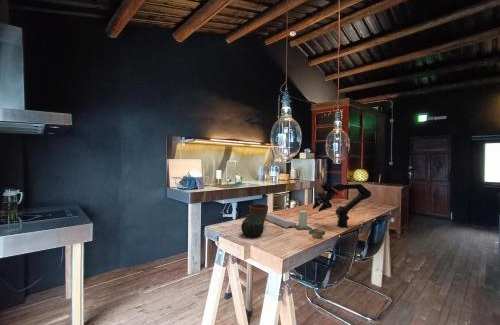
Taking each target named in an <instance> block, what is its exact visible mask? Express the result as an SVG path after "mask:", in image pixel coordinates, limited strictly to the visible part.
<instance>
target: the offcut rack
mask: <svg viewBox="0 0 500 325" xmlns="http://www.w3.org/2000/svg"><path fill="white" fill-rule="evenodd" d="M315 230H319V231H323V234H322V236H323V235H325V234H326V231H325V230H323V229H319V228H314V229H313V228H312V230H308V234H310V235H313V231H315Z"/></svg>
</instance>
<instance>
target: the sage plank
mask: <svg viewBox="0 0 500 325" xmlns="http://www.w3.org/2000/svg"><path fill="white" fill-rule="evenodd" d="M298 225H299V227H300V228H307V226H308V211H307V210H298Z"/></svg>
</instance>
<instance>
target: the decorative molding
mask: <svg viewBox="0 0 500 325" xmlns="http://www.w3.org/2000/svg"><path fill="white" fill-rule="evenodd" d="M265 221H268V222H271V223H273V224H275V225H278V226H280V227H283V228H285V229H287V228H289V227H293V226H294V225H297V222H294V221H292V220H289V219H286V218H283V217H280V216H278V215H274V214H272V213H267V215H266V219H265ZM293 228H294V227H293Z"/></svg>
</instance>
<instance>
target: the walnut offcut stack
mask: <svg viewBox="0 0 500 325" xmlns="http://www.w3.org/2000/svg"><path fill="white" fill-rule="evenodd" d="M319 230H320V229H319ZM319 230H315V231H313V235H312V234H311V235H312V236H311V237H312V238H314V239H317V240H321V239H323V238H324V236H323V235H324V234H323V231H324V230H323V231H319ZM322 234H323V235H322Z"/></svg>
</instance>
